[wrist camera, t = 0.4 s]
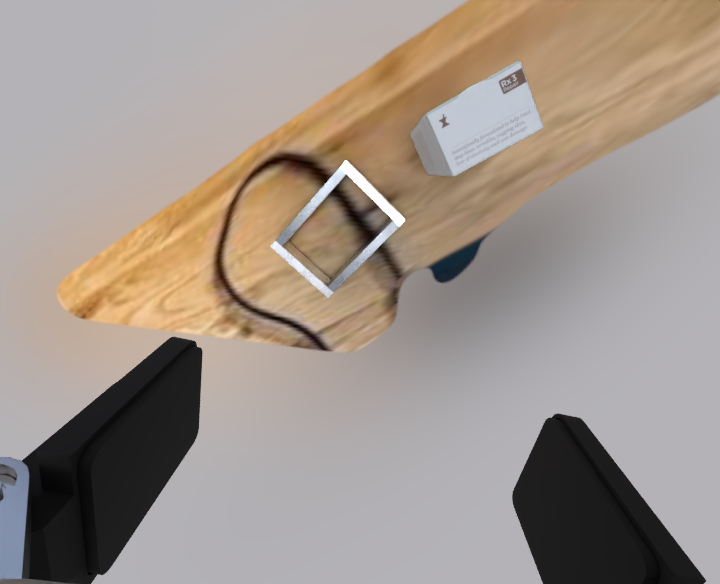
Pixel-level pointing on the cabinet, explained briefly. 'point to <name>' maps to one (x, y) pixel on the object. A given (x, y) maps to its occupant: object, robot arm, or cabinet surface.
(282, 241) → the socket collar
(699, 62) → the cabinet surface
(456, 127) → the skincare box
